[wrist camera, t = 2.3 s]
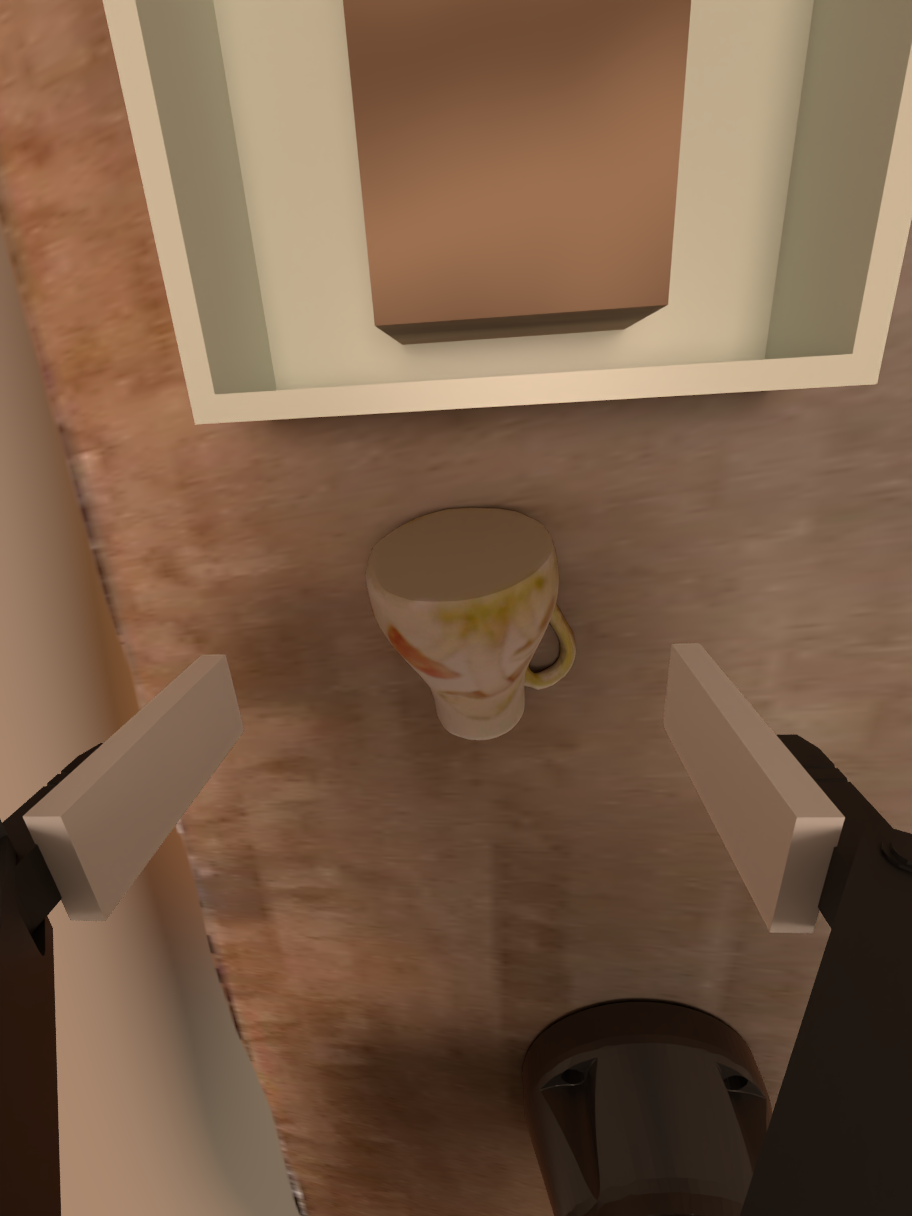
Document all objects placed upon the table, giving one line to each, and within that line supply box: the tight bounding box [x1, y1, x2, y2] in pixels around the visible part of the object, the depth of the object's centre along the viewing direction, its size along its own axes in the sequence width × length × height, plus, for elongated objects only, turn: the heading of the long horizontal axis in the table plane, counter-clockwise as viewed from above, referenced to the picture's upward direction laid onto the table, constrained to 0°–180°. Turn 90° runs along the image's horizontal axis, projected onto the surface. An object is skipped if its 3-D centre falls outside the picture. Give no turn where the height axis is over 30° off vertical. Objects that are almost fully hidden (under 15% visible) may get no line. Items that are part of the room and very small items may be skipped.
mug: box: [365, 508, 576, 740], centre depth 21 cm, size 8×10×10 cm
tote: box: [103, 0, 912, 424], centre depth 15 cm, size 16×20×6 cm
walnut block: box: [343, 0, 691, 345], centre depth 15 cm, size 11×8×5 cm
